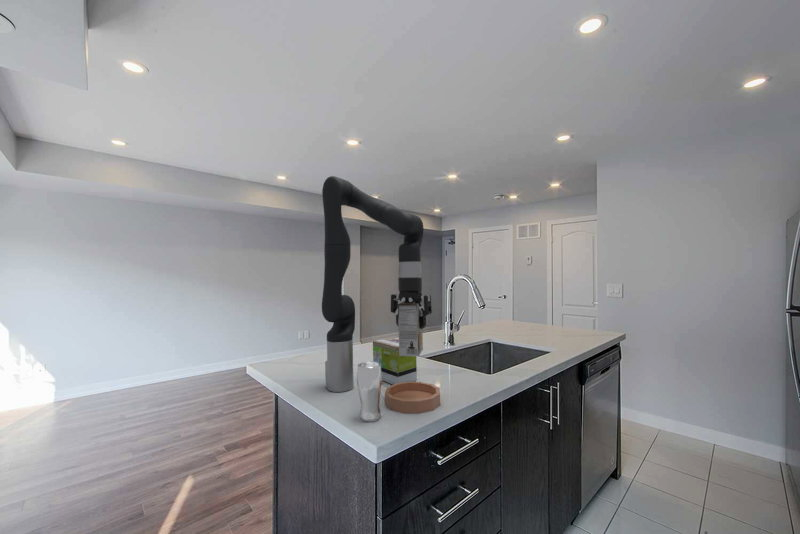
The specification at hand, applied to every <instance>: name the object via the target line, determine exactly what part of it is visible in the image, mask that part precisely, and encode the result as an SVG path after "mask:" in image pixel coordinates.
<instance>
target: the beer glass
mask: <svg viewBox="0 0 800 534" xmlns="http://www.w3.org/2000/svg"><path fill="white" fill-rule="evenodd" d="M356 374H357V379H356V382H357V390H358V395H359V396H358V397H359V400H360V411H359V420H361V421H362V422H365V423H374V422H377V421H379V420H380V419H381V418H382V413H381V408H380V407H381V406H380V401H381V399H380V398H381V393H382V386H383V385H382V384H383V380H382V373H381V364H380V363H379V362H373V360H372V361H364V362H360V363H358V364H357V373H356Z"/></svg>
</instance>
